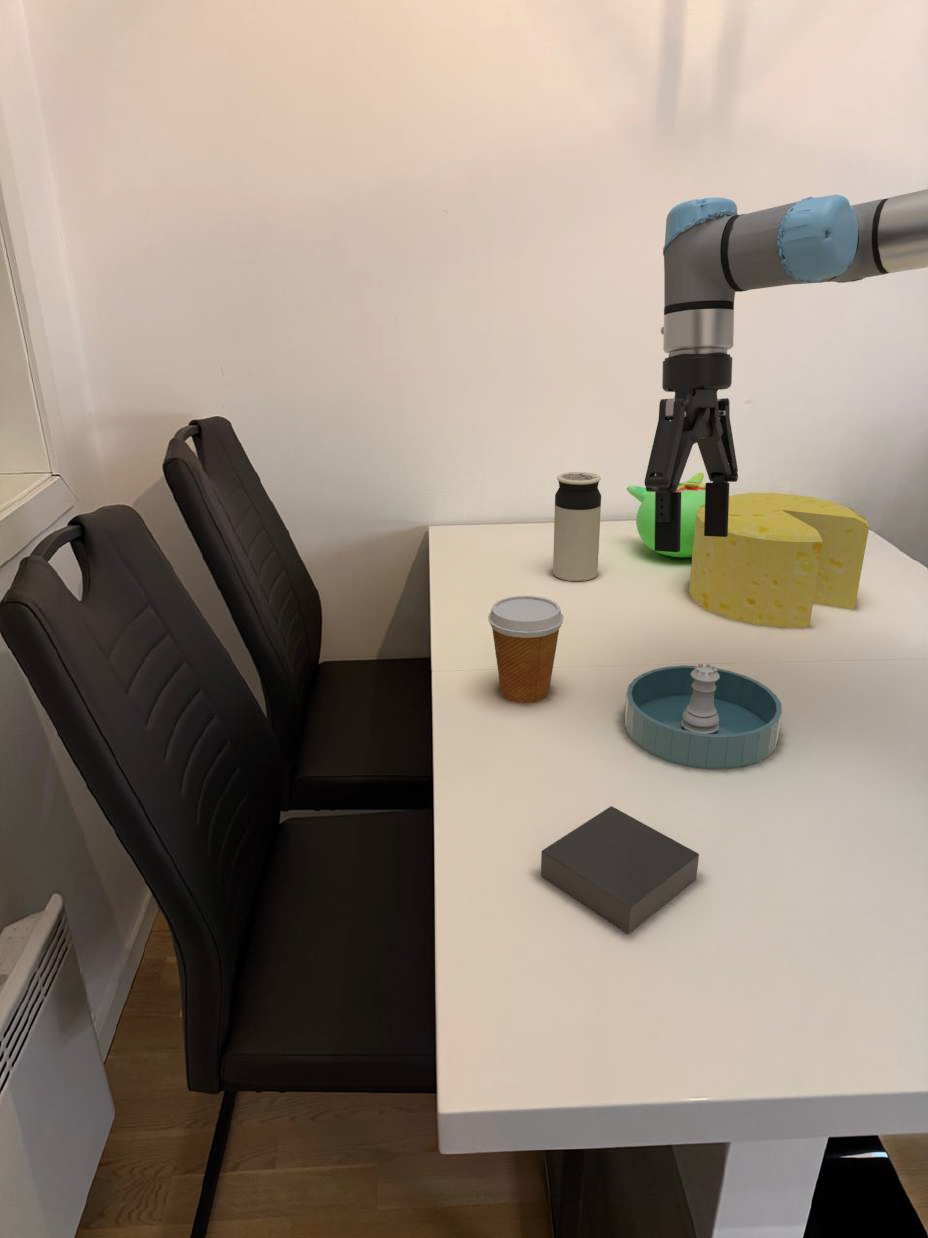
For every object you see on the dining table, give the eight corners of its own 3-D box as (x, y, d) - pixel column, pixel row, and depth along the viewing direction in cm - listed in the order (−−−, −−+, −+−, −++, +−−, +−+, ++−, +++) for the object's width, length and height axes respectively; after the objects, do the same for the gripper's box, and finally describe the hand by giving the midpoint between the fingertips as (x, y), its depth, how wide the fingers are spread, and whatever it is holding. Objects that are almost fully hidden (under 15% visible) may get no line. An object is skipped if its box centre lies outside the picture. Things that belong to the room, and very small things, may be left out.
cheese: (873, 633, 126) (891, 537, 120) (693, 623, 130) (703, 530, 124) (835, 574, 149) (848, 491, 143) (684, 567, 154) (691, 487, 148)
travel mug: (587, 585, 146) (591, 484, 139) (545, 578, 150) (548, 479, 143) (604, 571, 153) (609, 474, 146) (563, 565, 156) (566, 469, 149)
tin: (810, 750, 96) (815, 717, 94) (681, 784, 90) (685, 750, 88) (713, 685, 111) (716, 655, 109) (597, 711, 105) (599, 680, 103)
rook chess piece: (724, 736, 98) (731, 675, 95) (687, 738, 98) (693, 677, 95) (711, 717, 103) (718, 658, 99) (675, 719, 102) (681, 660, 99)
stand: (696, 880, 76) (699, 853, 75) (628, 936, 70) (630, 907, 69) (609, 830, 83) (611, 805, 82) (540, 877, 77) (541, 850, 76)
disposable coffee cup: (491, 675, 115) (490, 593, 110) (561, 677, 114) (563, 595, 109) (485, 709, 106) (485, 622, 101) (561, 711, 105) (564, 624, 100)
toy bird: (656, 572, 152) (662, 493, 146) (618, 545, 167) (623, 472, 161) (745, 563, 155) (755, 485, 150) (701, 537, 171) (708, 465, 165)
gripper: (709, 360, 105) (705, 529, 110) (612, 352, 86) (612, 556, 91) (769, 355, 101) (762, 532, 105) (681, 345, 82) (676, 560, 86)
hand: (692, 543), depth 98 cm, fingers open, 13 cm apart
